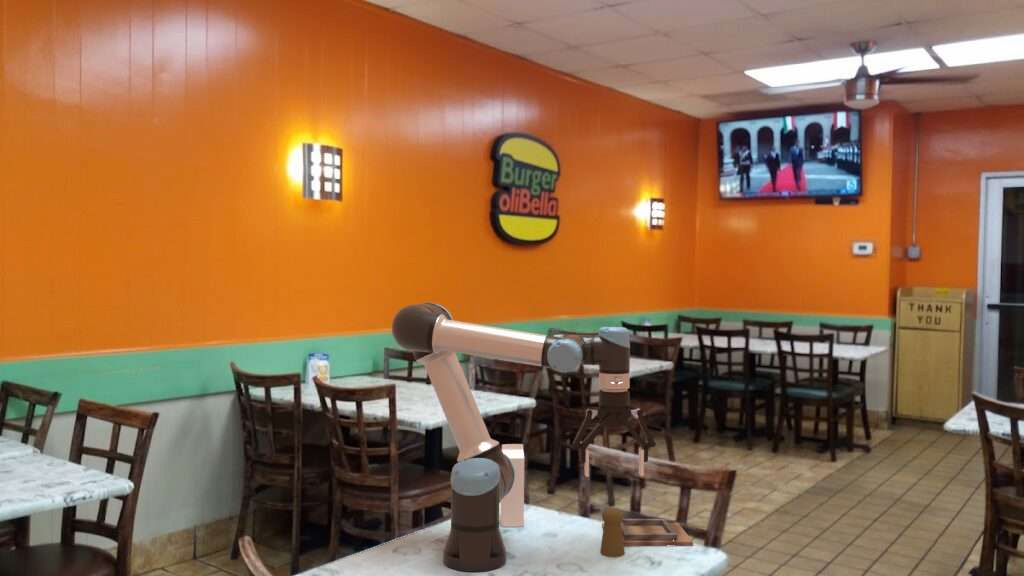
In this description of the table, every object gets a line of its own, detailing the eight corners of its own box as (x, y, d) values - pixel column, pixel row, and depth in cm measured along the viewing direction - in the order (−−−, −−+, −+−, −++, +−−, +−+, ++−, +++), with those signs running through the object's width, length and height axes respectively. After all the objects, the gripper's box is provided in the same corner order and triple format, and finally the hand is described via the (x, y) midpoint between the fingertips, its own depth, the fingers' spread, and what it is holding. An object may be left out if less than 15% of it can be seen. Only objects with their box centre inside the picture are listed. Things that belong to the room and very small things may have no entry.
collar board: (611, 546, 208) (611, 536, 208) (601, 526, 224) (602, 517, 224) (693, 545, 209) (693, 536, 209) (678, 526, 225) (678, 517, 225)
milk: (523, 527, 224) (524, 446, 223) (501, 527, 223) (502, 446, 223) (521, 520, 230) (522, 441, 229) (500, 520, 229) (501, 441, 229)
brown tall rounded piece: (616, 559, 199) (617, 514, 199) (595, 553, 203) (595, 509, 202) (629, 552, 204) (629, 508, 204) (607, 547, 207) (608, 504, 207)
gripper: (565, 392, 198) (565, 479, 199) (667, 391, 199) (667, 478, 200) (562, 387, 206) (562, 471, 206) (661, 387, 207) (660, 471, 207)
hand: (613, 475), depth 203 cm, fingers open, 13 cm apart
